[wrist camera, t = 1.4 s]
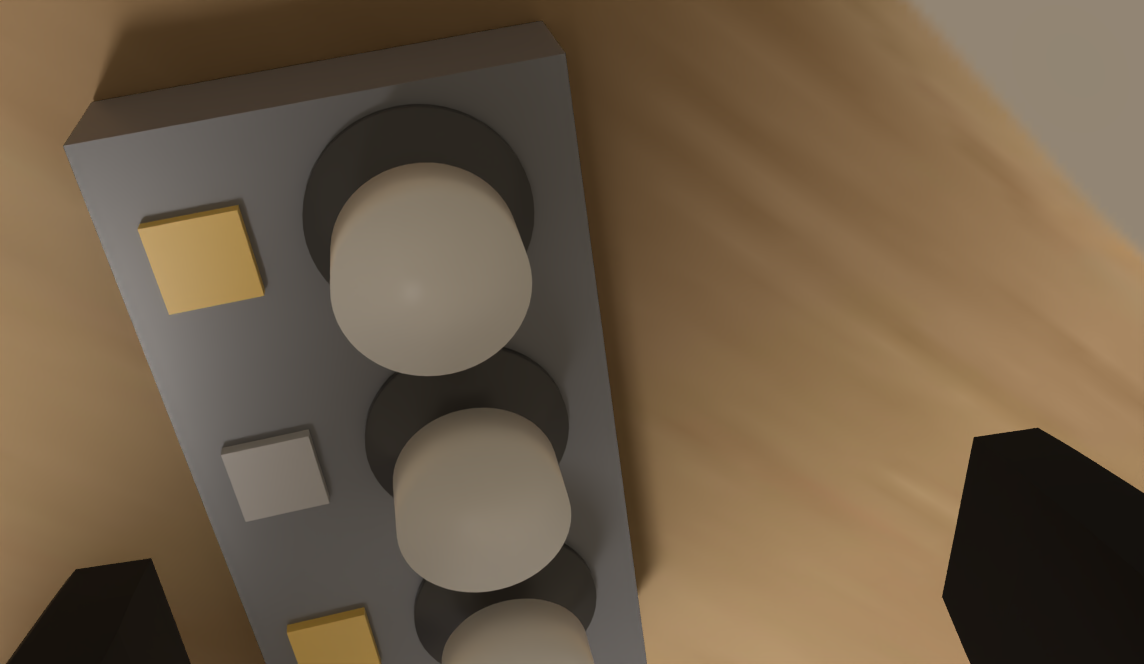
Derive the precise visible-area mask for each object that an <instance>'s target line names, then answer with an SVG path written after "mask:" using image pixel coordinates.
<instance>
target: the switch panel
mask: <svg viewBox="0 0 1144 664" xmlns="http://www.w3.org/2000/svg"><path fill="white" fill-rule="evenodd" d="M63 147H64V150H65V152H66V155H67V157H68V160H69V162H70V165H71V168H72V170H73V173H74V175H75V178H76V180H77V183H78V185H79V188H80V191H81V193H82V196H83V198H84V201H85V203H86V206H87V208H88V211H89V214H90V216H91V219H92V221H93V224H94V226H95V229H96V231H97V234H98V237H99V239H100V242H101V244H102V247H103V249H104V252H105V254H106V257H107V259H108V262H109V265H110V267H111V270H112V272H113V275H114V277H115V280H116V282H117V285H118V288H119V290H120V293H121V295H122V298H123V300H124V303H125V305H126V308H127V311H128V313H129V316H130V318H131V321H132V323H133V326H134V328H135V331H136V334H137V336H138V339H139V341H140V344H141V346H142V349H143V351H144V354H145V356H146V359H147V362H148V364H149V367H150V369H151V372H152V374H153V377H154V379H155V382H156V385H157V387H158V390H159V392H160V395H161V397H162V400H163V402H164V405H165V408H166V410H167V413H168V415H169V418H170V420H171V423H172V425H173V428H174V431H175V433H176V436H177V438H178V441H179V443H180V446H181V448H182V451H183V453H184V456H185V459H186V461H187V464H188V466H189V469H190V471H191V474H192V476H193V479H194V482H195V484H196V487H197V489H198V492H199V494H200V497H201V499H202V502H203V505H204V507H205V510H206V512H207V515H208V517H209V520H210V522H211V525H212V528H213V530H214V533H215V535H216V538H217V540H218V543H219V545H220V548H221V550H222V553H223V556H224V558H225V561H226V563H227V566H228V568H229V571H230V573H231V576H232V579H233V581H234V584H235V586H236V589H237V591H238V594H239V596H240V599H241V602H242V604H243V607H244V609H245V612H246V614H247V617H248V619H249V622H250V625H251V627H252V630H253V632H254V635H255V637H256V640H257V642H258V645H259V647H260V650H261V653H262V655H263V658H264V660H265V663H266V664H442V654H443V650H444V647H445V644H446V642H447V640H448V638H449V637H450V635H451V634H452V633H453V631H454V630H455V629H456V628H457V627H458V626H459V625H460V624H461V623H462V622H463V621H464V620H465V619H467V618H468V617H469V616H471V615H472V614H474V613H475V612H477V611H479V610H481V609H483V608H485V607H488V606H490V605H493V604H496V603H499V602H503V601H508V600H513V599H539V600H545V601H549V602H552V603H555V604H558V605H560V606H562V607H564V608H566V609H567V610H569V611H570V612H571V613H573V614H574V615H575V616H576V617H577V618H578V619H579V621H580V622H581V624H582V625H583V627H584V629H585V632H586V636H587V639H588V643H589V646H590V650H591V654H592V657H593V661H594V664H647V661H646V653H645V646H644V638H643V631H642V623H641V616H640V608H639V601H638V593H637V586H636V578H635V571H634V563H633V556H632V548H631V541H630V533H629V526H628V518H627V511H626V504H625V496H624V489H623V481H622V474H621V466H620V459H619V451H618V444H617V436H616V429H615V421H614V414H613V406H612V399H611V391H610V384H609V376H608V369H607V361H606V354H605V346H604V339H603V331H602V324H601V316H600V309H599V301H598V294H597V286H596V279H595V271H594V264H593V256H592V249H591V241H590V234H589V226H588V219H587V211H586V204H585V196H584V189H583V181H582V174H581V166H580V159H579V151H578V144H577V136H576V129H575V121H574V114H573V106H572V99H571V91H570V84H569V76H568V69H567V61H566V54H565V52H564V51H563V49H562V48H561V46H560V45H559V44H558V42H557V41H556V39H555V38H554V37H553V35H552V34H551V32H550V31H549V30H548V28H547V27H546V25H545V24H544V22H543V21H538V22H532V23H527V24H521V25H516V26H510V27H505V28H499V29H493V30H488V31H482V32H477V33H471V34H466V35H460V36H455V37H449V38H444V39H438V40H433V41H427V42H422V43H416V44H411V45H405V46H399V47H394V48H388V49H383V50H377V51H372V52H366V53H361V54H355V55H350V56H344V57H339V58H333V59H328V60H322V61H317V62H311V63H305V64H300V65H294V66H289V67H283V68H278V69H272V70H267V71H261V72H256V73H250V74H245V75H239V76H234V77H228V78H223V79H217V80H212V81H206V82H200V83H195V84H189V85H184V86H178V87H173V88H167V89H162V90H156V91H151V92H145V93H140V94H134V95H129V96H123V97H118V98H112V99H106V100H101V101H95V102H91V104H90V106H89V107H88V109H87V110H86V112H85V113H84V115H83V116H82V118H81V119H80V121H79V122H78V124H77V125H76V127H75V128H74V130H73V132H72V133H71V135H70V136H69V138H68V139H67V141H66V142H65V144H64V145H63ZM413 163H440V164H447V165H451V166H455V167H458V168H461V169H463V170H466V171H469V172H471V173H472V174H474V175H476V176H478V177H480V178H481V179H482V180H484V181H485V182H487V183H488V184H489V185H490V186H491V187H492V188H493V189H494V190H496V191H497V192H498V194H499V195H500V196H501V197H502V199H503V200H504V201H505V203H506V204H507V206H508V208H509V209H510V211H511V213H512V216H513V218H514V221H515V223H516V226H517V229H518V232H519V234H520V237H521V240H522V243H523V245H524V248H525V251H526V254H527V256H528V259H529V263H530V267H531V274H532V294H531V299H530V304H529V307H528V310H527V313H526V316H525V318H524V320H523V322H522V324H521V326H520V327H519V329H518V330H517V332H516V333H515V334H514V336H513V337H512V338H511V339H510V340H509V342H508V343H507V344H506V345H505V346H504V347H503V348H501V349H500V350H499V351H498V352H497V353H496V354H494V355H493V356H491V357H490V358H488V359H487V360H485V361H483V362H482V363H480V364H478V365H476V366H474V367H471V368H469V369H466V370H463V371H460V372H456V373H452V374H446V375H440V376H416V375H409V374H404V373H400V372H396V371H393V370H390V369H387V368H385V367H383V366H381V365H378V364H377V363H375V362H373V361H372V360H370V359H368V358H367V357H366V356H364V355H363V354H362V353H361V352H359V351H358V350H357V349H356V348H355V347H354V346H353V345H352V344H351V343H350V342H349V340H348V339H347V338H346V336H345V335H344V333H343V332H342V330H341V328H340V326H339V325H338V323H337V320H336V318H335V315H334V312H333V309H332V304H331V298H330V246H331V236H332V232H333V228H334V225H335V222H336V220H337V217H338V215H339V213H340V211H341V210H342V208H343V206H344V204H345V203H346V202H347V201H348V199H349V198H350V197H351V195H352V194H353V193H354V192H355V191H356V190H357V189H358V188H359V187H361V186H362V185H363V184H364V183H366V182H367V181H368V180H370V179H371V178H373V177H375V176H377V175H378V174H380V173H382V172H384V171H387V170H389V169H392V168H394V167H398V166H402V165H406V164H413ZM470 408H496V409H501V410H506V411H509V412H513V413H516V414H518V415H520V416H522V417H524V418H526V419H528V420H529V421H531V422H533V423H534V424H535V425H536V426H537V427H539V428H540V429H541V430H542V432H543V433H544V434H545V435H546V436H547V438H548V439H549V441H550V442H551V444H552V447H553V449H554V452H555V455H556V458H557V461H558V465H559V468H560V471H561V475H562V478H563V481H564V485H565V488H566V491H567V494H568V498H569V502H570V506H571V524H570V528H569V533H568V535H567V538H566V540H565V542H564V544H563V546H562V547H561V549H560V551H559V552H558V553H557V555H556V556H555V557H554V558H553V559H552V560H551V561H550V562H549V563H548V564H547V565H546V566H545V567H544V568H543V569H541V570H540V571H539V572H538V573H536V574H534V575H533V576H531V577H530V578H528V579H526V580H524V581H522V582H520V583H518V584H515V585H512V586H510V587H506V588H503V589H499V590H494V591H488V592H461V591H454V590H450V589H446V588H443V587H440V586H437V585H435V584H433V583H431V582H429V581H427V580H426V579H424V578H423V577H421V576H420V575H418V574H417V573H416V572H415V571H414V570H413V569H412V568H411V567H410V566H409V564H408V563H407V562H406V560H405V559H404V557H403V555H402V553H401V551H400V548H399V545H398V540H397V533H396V520H395V506H394V493H393V473H394V468H395V464H396V461H397V459H398V457H399V454H400V452H401V451H402V449H403V448H404V446H405V445H406V443H407V442H408V441H409V440H410V439H411V437H412V436H413V435H414V434H415V433H417V432H418V431H419V430H420V429H421V428H423V427H424V426H425V425H427V424H428V423H430V422H432V421H433V420H435V419H437V418H439V417H441V416H444V415H446V414H449V413H452V412H456V411H459V410H464V409H470Z"/></svg>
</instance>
